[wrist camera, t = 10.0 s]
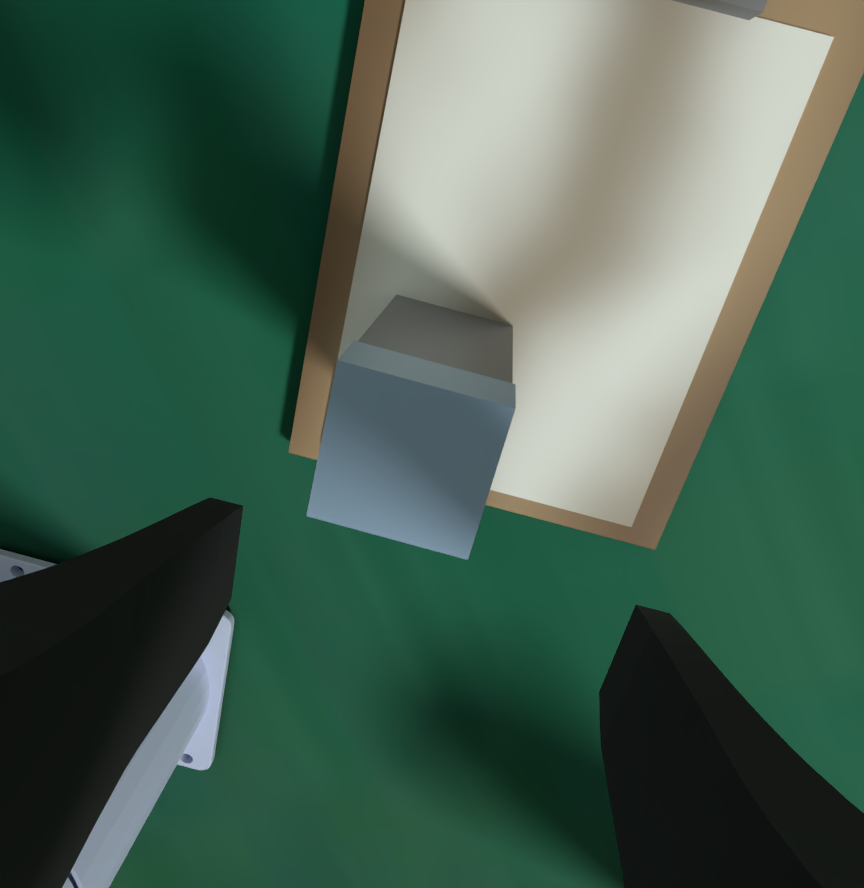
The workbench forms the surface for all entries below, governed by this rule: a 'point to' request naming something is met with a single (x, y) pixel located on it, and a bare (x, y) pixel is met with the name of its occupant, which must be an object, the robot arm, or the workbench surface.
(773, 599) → the workbench surface
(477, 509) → the block
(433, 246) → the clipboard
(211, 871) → the workbench surface
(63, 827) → the robot arm
